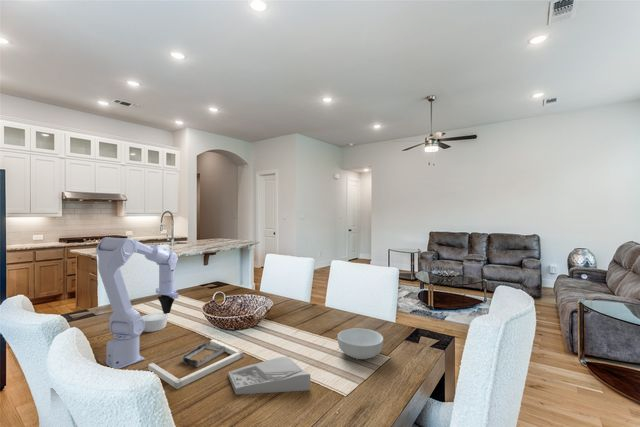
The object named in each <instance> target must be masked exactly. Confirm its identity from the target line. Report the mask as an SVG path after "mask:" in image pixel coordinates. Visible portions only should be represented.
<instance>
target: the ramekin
mask: <svg viewBox="0 0 640 427" xmlns="http://www.w3.org/2000/svg"><path fill="white" fill-rule="evenodd" d="M168 314H169V313H167V314H164V313H163V312H153V313H149V314H148V313H147V314H145V315H142V316H141V317H142V318H143V319H144V320H145V327H144V330H143V331H142V332H144V333H145V332H146V333H152V332H153V333H154V332H158V331H161V330H164V328H165V327H166V326H167V322H168V317H169V315H168Z"/></svg>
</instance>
